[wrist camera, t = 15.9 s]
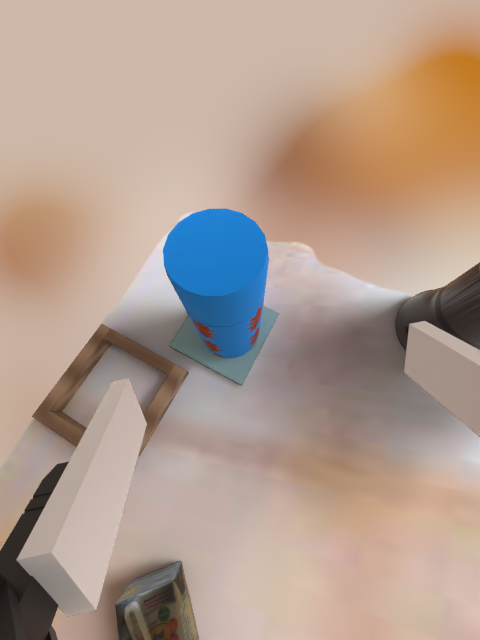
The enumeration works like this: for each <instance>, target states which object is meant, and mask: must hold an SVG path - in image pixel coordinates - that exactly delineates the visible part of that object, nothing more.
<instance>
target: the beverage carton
mask: <svg viewBox="0 0 480 640" xmlns="http://www.w3.org/2000/svg"><path fill="white" fill-rule="evenodd" d="M115 607H116V615H117V628H118V634H119V640H199V637H198V632H197V627H196V623H195V618H194V614H193V609H192V605H191V600H190V596H189V592H188V588H187V584H186V580H185V576H184V571H183V566H182V562H181V561H179V562H177V563H175V564H172V565H170V566H168V567H166V568H163V569H161V570H158V571H155V572H153V573H150V574H148V575H145V576H143V577H140V578H137V579H135V580H133V581H132V582H131V583H130V584H129V585H128V586H127V587H126V589H125V591H124V592H123V594H122V596H121V597H120V598H119V599H118V600H117V601H116V604H115Z"/></svg>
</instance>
